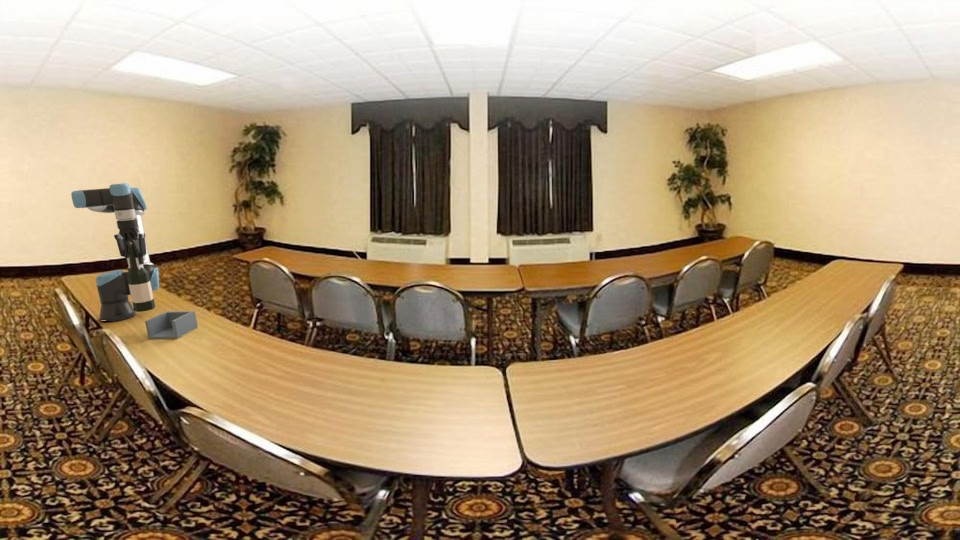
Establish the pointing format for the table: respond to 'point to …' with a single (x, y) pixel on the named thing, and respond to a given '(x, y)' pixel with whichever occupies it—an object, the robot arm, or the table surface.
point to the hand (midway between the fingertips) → (137, 271)
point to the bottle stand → (171, 324)
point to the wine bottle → (139, 285)
